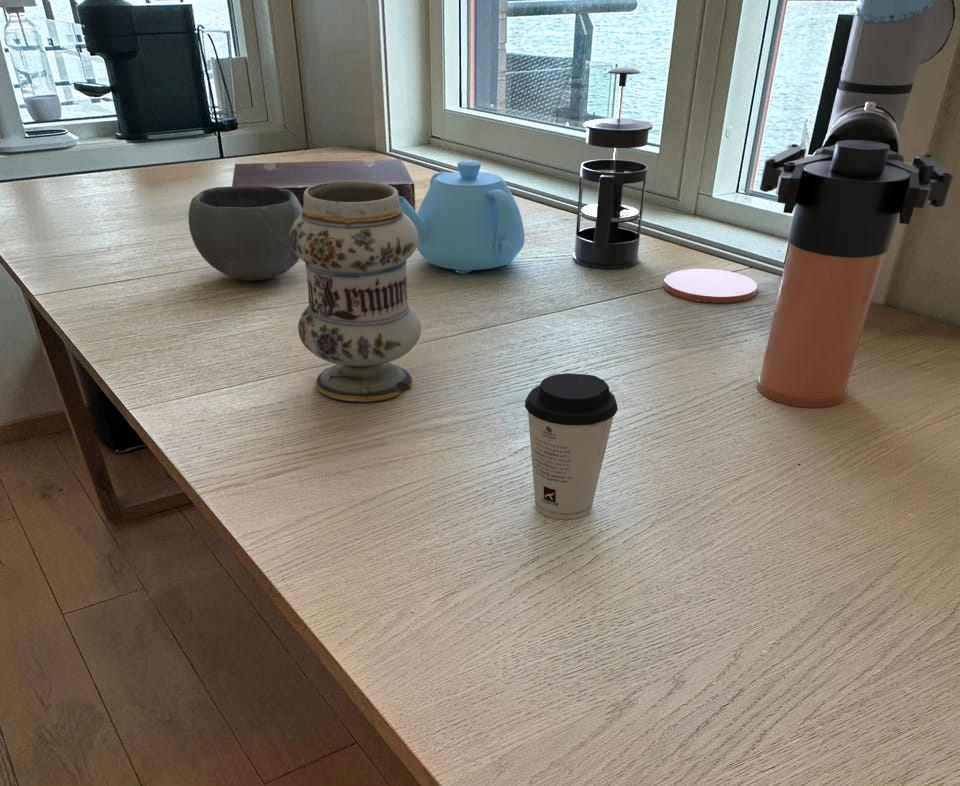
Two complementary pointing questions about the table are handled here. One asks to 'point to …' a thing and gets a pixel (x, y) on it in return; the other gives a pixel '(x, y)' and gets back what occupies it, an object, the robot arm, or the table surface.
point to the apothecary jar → (357, 287)
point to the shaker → (817, 327)
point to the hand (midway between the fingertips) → (849, 200)
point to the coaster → (710, 285)
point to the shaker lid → (849, 202)
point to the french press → (611, 190)
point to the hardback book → (325, 175)
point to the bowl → (245, 230)
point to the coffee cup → (568, 441)
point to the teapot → (467, 220)
